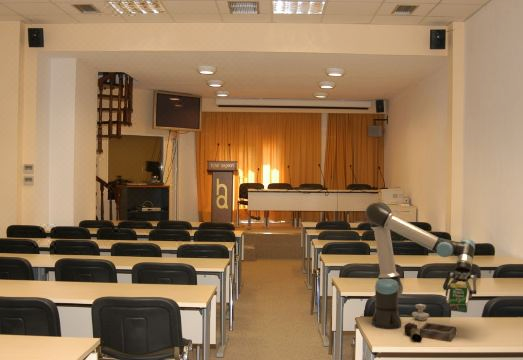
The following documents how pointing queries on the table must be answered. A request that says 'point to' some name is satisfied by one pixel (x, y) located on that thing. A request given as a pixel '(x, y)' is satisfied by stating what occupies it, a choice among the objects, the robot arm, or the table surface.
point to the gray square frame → (438, 331)
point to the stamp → (420, 312)
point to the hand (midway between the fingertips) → (457, 302)
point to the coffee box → (458, 297)
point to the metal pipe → (413, 332)
